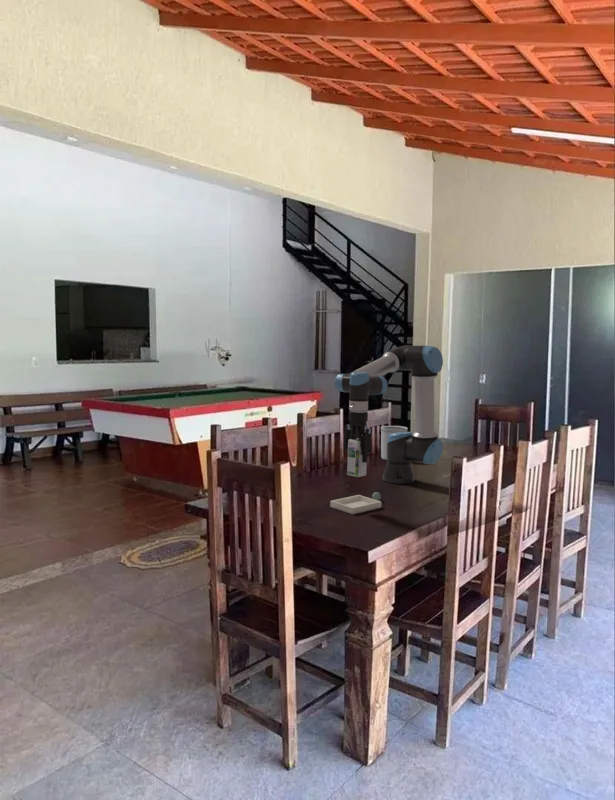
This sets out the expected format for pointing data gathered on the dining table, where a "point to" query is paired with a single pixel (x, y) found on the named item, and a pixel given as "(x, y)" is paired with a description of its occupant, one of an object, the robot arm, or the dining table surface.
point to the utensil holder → (384, 437)
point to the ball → (376, 496)
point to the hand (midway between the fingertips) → (356, 468)
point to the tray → (355, 504)
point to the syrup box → (354, 459)
